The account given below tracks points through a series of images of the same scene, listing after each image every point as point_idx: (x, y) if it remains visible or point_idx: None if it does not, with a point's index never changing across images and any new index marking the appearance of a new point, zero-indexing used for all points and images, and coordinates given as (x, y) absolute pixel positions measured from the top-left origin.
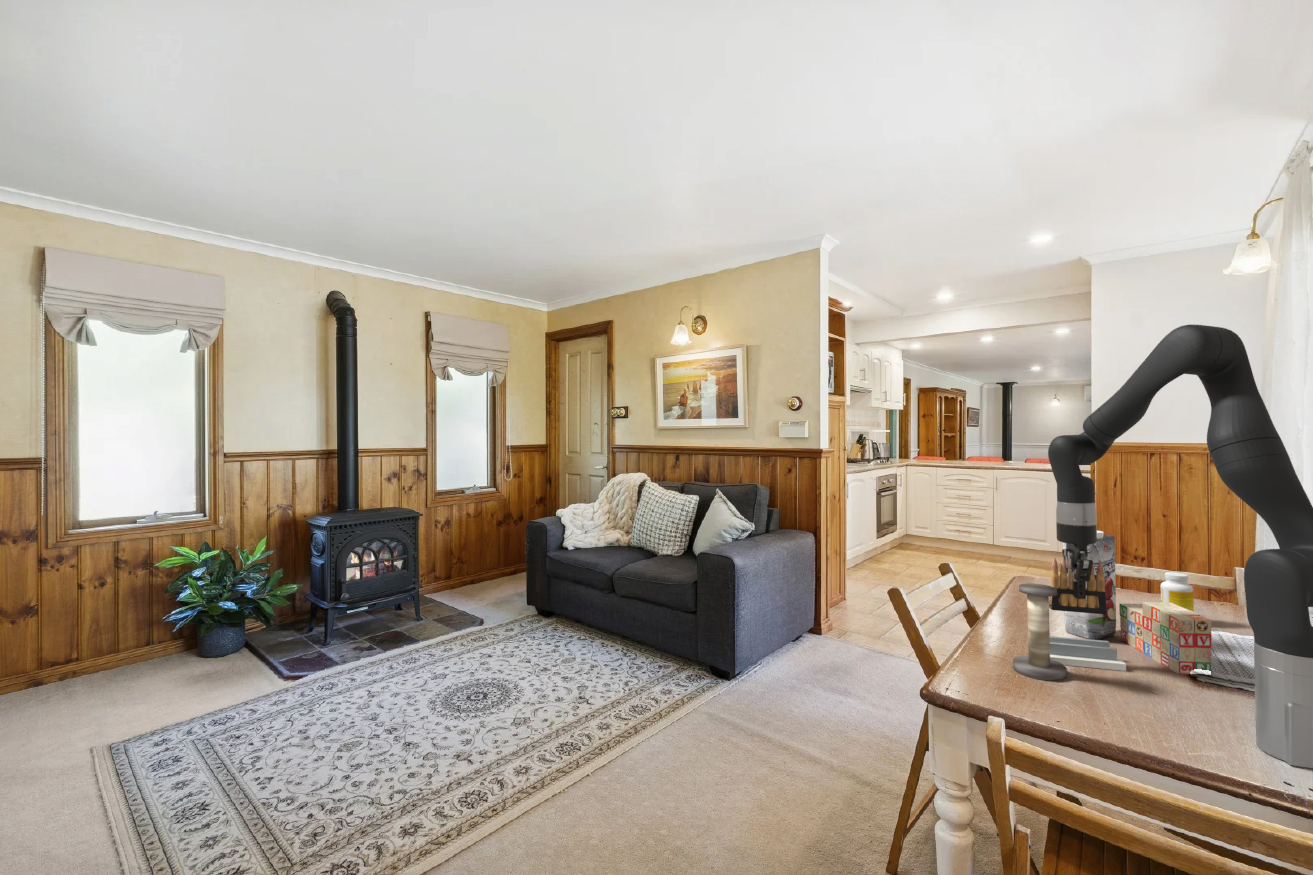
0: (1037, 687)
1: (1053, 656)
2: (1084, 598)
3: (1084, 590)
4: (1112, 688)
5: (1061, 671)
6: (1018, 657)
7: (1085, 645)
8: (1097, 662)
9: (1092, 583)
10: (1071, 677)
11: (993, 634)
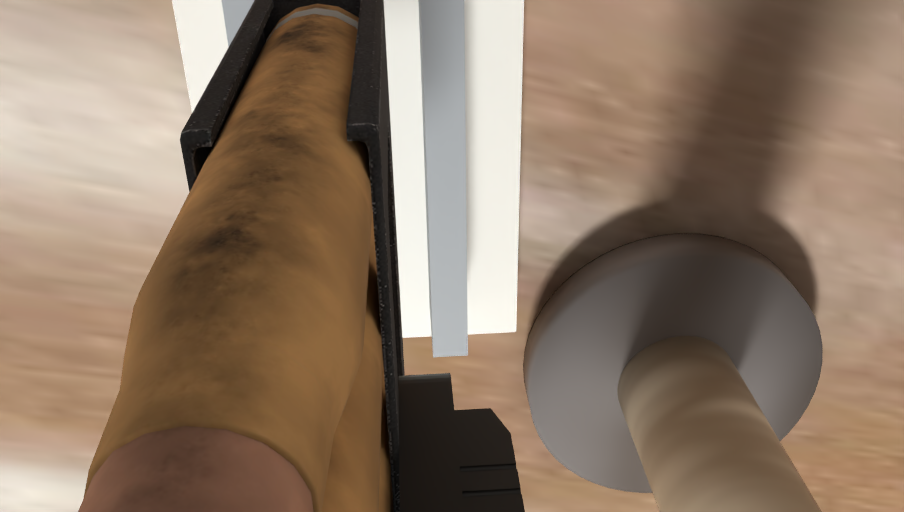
0: (898, 397)
1: (497, 287)
2: (446, 377)
3: (464, 474)
4: (885, 23)
5: (773, 294)
6: (577, 462)
7: (429, 112)
8: (520, 22)
9: (373, 449)
10: (729, 216)
11: (40, 499)
